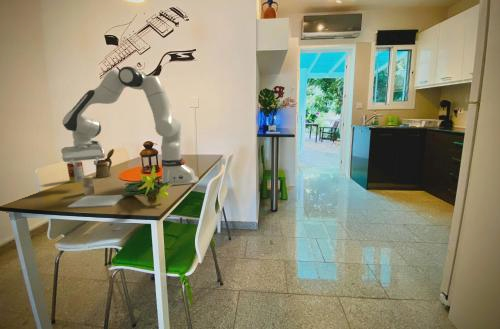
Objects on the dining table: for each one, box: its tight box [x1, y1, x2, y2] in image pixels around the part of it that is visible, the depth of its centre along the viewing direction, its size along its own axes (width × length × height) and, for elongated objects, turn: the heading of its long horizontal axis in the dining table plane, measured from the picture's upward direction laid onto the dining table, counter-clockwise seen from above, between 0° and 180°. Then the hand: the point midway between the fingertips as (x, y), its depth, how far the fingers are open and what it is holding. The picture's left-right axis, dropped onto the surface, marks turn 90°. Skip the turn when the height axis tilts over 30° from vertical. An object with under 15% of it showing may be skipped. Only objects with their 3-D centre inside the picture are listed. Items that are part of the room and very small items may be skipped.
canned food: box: [66, 160, 85, 183], centre depth 157 cm, size 8×8×12 cm
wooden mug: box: [95, 148, 115, 179], centre depth 168 cm, size 9×14×18 cm, turn 143°
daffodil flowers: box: [121, 164, 173, 204], centre depth 116 cm, size 17×15×35 cm
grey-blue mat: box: [67, 194, 126, 208], centre depth 119 cm, size 20×14×1 cm
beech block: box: [81, 175, 96, 196], centre depth 131 cm, size 4×4×9 cm
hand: (85, 165), depth 138 cm, fingers open, 8 cm apart
